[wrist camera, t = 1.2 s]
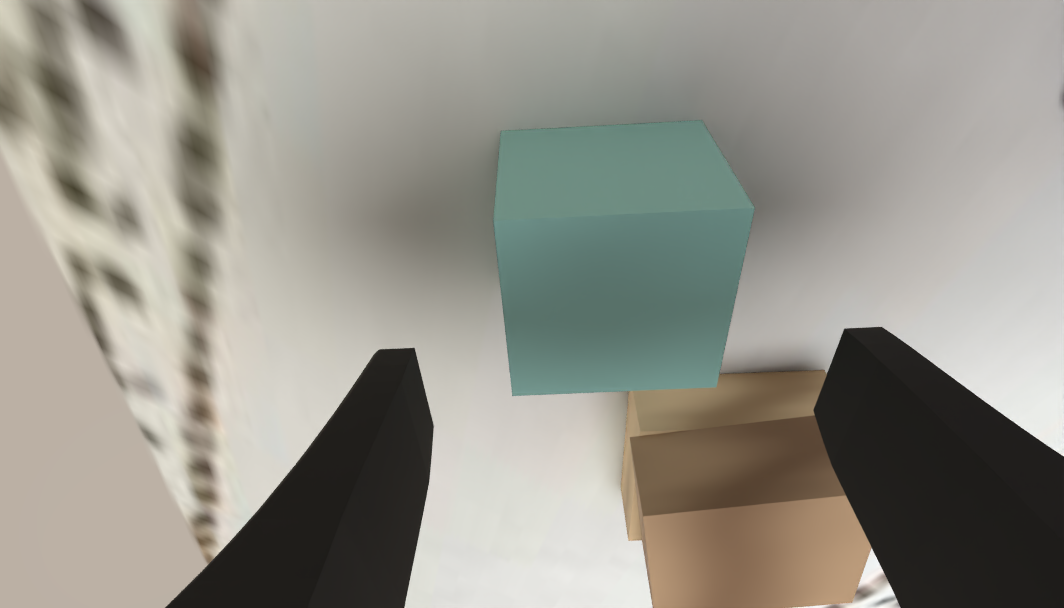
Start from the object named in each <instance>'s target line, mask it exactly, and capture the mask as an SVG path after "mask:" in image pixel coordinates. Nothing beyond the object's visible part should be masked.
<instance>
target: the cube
mask: <svg viewBox="0 0 1064 608" xmlns="http://www.w3.org/2000/svg"><path fill="white" fill-rule="evenodd" d="M754 209H755V207H754V206H753V204H752V202H751V201H750V199H749V197H748V196H747V194H746V192H745V191H744V189H743V187H742V186H741V184H740V182H739V181H738V179H737V177H736V176H735V174H734V173H733V171H732V169H731V168H730V166H729V164H728V163H727V161H726V159H725V158H724V156H723V154H722V153H721V151H720V149H719V148H718V146H717V144H716V143H715V141H714V139H713V138H712V136H711V135H710V133H709V131H708V130H707V128H706V126H705V125H704V123H703V121H702V120H696V121H678V122H659V123H640V124H622V125H603V126H584V127H566V128H547V129H528V130H509V131H501V135H500V147H499V159H498V170H497V182H496V194H495V206H494V218H493V223H494V233H495V242H496V251H497V260H498V269H499V278H500V287H501V296H502V305H503V314H504V323H505V332H506V341H507V350H508V359H509V369H510V378H511V387H512V396H522V395H546V394H570V393H594V392H617V391H641V390H665V389H689V388H713V387H717V382H718V378H719V373H720V368H721V364H722V359H723V354H724V350H725V345H726V340H727V336H728V331H729V326H730V322H731V317H732V312H733V308H734V303H735V298H736V294H737V289H738V284H739V280H740V275H741V270H742V266H743V261H744V256H745V252H746V247H747V242H748V238H749V233H750V228H751V223H752V219H753V214H754Z"/></svg>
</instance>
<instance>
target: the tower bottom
mask: <svg viewBox="0 0 1064 608" xmlns="http://www.w3.org/2000/svg"><path fill="white" fill-rule="evenodd" d="M826 376H827V374H826V372H825V371H824V370H814V371H787V372H760V373H733V374H719V378H718V382H717V387H713V388H689V389H665V390H641V391H629V396H628V408H627V420H626V432H625V444H624V456H623V468H622V479H621V492H622V499H623V506H624V513H625V520H626V527H627V534H628V541H634V540H642V535H641V527H640V519H639V510H638V502H637V494H636V486H635V478H634V469H633V461H632V453H631V445H630V437H636V436H644V435H653V434H661V433H670V432H678V431H686V430H695V429H703V428H712V427H720V426H729V425H737V424H746V423H754V422H762V421H771V420H779V419H788V418H796V417H805V416H813V415H815V414H814V411H813V410H814V407H815V404H816V402H817V399H818V396H819V394H820V391H821V389H822V386H823V383H824V381H825V378H826Z"/></svg>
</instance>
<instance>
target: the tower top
mask: <svg viewBox="0 0 1064 608" xmlns="http://www.w3.org/2000/svg"><path fill="white" fill-rule="evenodd" d="M630 445H631V453H632V461H633V469H634V478H635V486H636V494H637V502H638V510H639V519H640V527H641V535H642V543H643V550H644V556H645V562H646V568H647V574H648V580H649V587H650V593H651V599H652V605H653V608H792V607H804V606H816V605H828V604H840V603H852V601H853V599H854V596H855V593H856V590H857V587H858V584H859V582H860V579H861V576H862V573H863V570H864V567H865V564H866V562H867V559H868V556H869V553H870V550H871V545H870V543H869V541H868V539H867V537H866V535H865V533H864V531H863V529H862V527H861V525H860V523H859V521H858V519H857V517H856V515H855V513H854V511H853V509H852V507H851V505H850V503H849V501H848V499H847V497H846V495H845V492H844V490H843V488H842V486H841V484H840V482H839V480H838V478H837V476H836V474H835V472H834V469H833V467H832V465H831V462H830V459H829V457H828V454H827V451H826V448H825V445H824V443H823V440H822V436H821V433H820V430H819V427H818V424H817V421H816V418H815V415H813V416H805V417H796V418H788V419H779V420H771V421H762V422H754V423H746V424H737V425H729V426H720V427H712V428H703V429H695V430H686V431H678V432H670V433H661V434H653V435H644V436H636V437H630Z"/></svg>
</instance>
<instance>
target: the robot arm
mask: <svg viewBox="0 0 1064 608" xmlns="http://www.w3.org/2000/svg"><path fill="white" fill-rule="evenodd" d="M813 411H814V414H815V418H816V421H817V424H818V427H819V430H820V433H821V436H822V440H823V443H824V445H825V448H826V451H827V454H828V457H829V459H830V462H831V465H832V467H833V469H834V472H835V474H836V476H837V478H838V480H839V482H840V484H841V486H842V488H843V490H844V492H845V495H846V497H847V499H848V501H849V503H850V505H851V507H852V509H853V511H854V513H855V515H856V517H857V519H858V521H859V523H860V525H861V527H862V529H863V531H864V533H865V535H866V537H867V539H868V541H869V543H870V545H871V547H872V549H873V551H874V553H875V555H876V557H877V559H878V561H879V563H880V565H881V567H882V569H883V571H884V573H885V575H886V577H887V579H888V581H889V583H890V586H891V588H892V590H893V592H894V594H895V596H896V598H897V600H898V603H899V605H900V607H901V608H1064V456H1062V455H1061V454H1059V453H1057V452H1056V451H1054V450H1053V449H1051V448H1050V447H1048V446H1047V445H1046V444H1044V443H1043V442H1041V441H1040V440H1038V439H1037V438H1035V437H1034V436H1032V435H1031V434H1030V433H1028V432H1027V431H1025V430H1024V429H1022V428H1021V427H1020V426H1018V425H1017V424H1015V423H1014V422H1012V421H1011V420H1010V419H1008V418H1007V417H1005V416H1004V415H1003V414H1001V413H1000V412H998V411H997V410H996V409H994V408H993V407H991V406H990V405H989V404H987V403H986V402H985V401H983V400H982V399H980V398H979V397H978V396H976V395H975V394H974V393H972V392H971V391H969V390H968V389H967V388H965V387H964V386H963V385H961V384H960V383H959V382H957V381H956V380H955V379H953V378H952V377H951V376H949V375H948V374H946V373H945V372H944V371H942V370H941V369H940V368H938V367H937V366H936V365H934V364H933V363H932V362H930V361H929V360H928V359H926V358H925V357H923V356H922V355H921V354H919V353H918V352H917V351H915V350H914V349H913V348H911V347H910V346H908V345H907V344H906V343H904V342H903V341H901V340H900V339H899V338H897V337H896V336H894V335H893V334H891V333H890V332H888V331H887V330H885V329H884V328H882V327H870V328H848V329H844V331H843V334H842V336H841V339H840V342H839V344H838V347H837V349H836V352H835V355H834V357H833V360H832V363H831V365H830V368H829V370H828V373H827V376H826V378H825V381H824V383H823V386H822V389H821V391H820V394H819V396H818V399H817V402H816V404H815V407H814V410H813ZM433 428H434V426H433V421H432V417H431V413H430V409H429V405H428V401H427V397H426V393H425V389H424V385H423V381H422V377H421V373H420V369H419V364H418V360H417V356H416V352H415V348H404V349H381V350H378V351H377V352H376V353H375V354H374V355H373V357H372V358H371V360H370V361H369V363H368V364H367V366H366V367H365V369H364V370H363V372H362V373H361V375H360V376H359V378H358V379H357V381H356V382H355V384H354V385H353V387H352V388H351V390H350V391H349V393H348V394H347V395H346V397H345V398H344V400H343V401H342V403H341V404H340V405H339V407H338V408H337V410H336V411H335V413H334V414H333V415H332V417H331V418H330V419H329V421H328V422H327V424H326V425H325V426H324V428H323V429H322V430H321V432H320V433H319V434H318V436H317V437H316V438H315V440H314V441H313V442H312V444H311V445H310V446H309V448H308V449H307V450H306V452H305V453H304V454H303V456H302V457H301V458H300V460H299V461H298V462H297V463H296V465H295V466H294V467H293V468H292V470H291V471H290V472H289V473H288V474H287V476H286V477H285V478H284V479H283V481H282V482H281V483H280V484H279V485H278V487H277V488H276V489H275V490H274V492H273V493H272V494H271V495H270V496H269V498H268V499H267V500H266V501H265V503H264V504H263V505H262V506H261V507H260V508H259V510H258V511H257V512H256V513H255V514H254V515H253V516H252V518H251V519H250V520H249V521H248V522H247V523H246V524H245V526H244V527H243V528H242V529H241V530H240V531H239V532H238V533H237V534H236V536H235V537H234V538H233V539H232V540H231V541H230V542H229V543H228V544H227V545H226V546H225V547H224V549H223V550H222V551H221V552H220V553H219V554H218V555H217V556H216V557H215V558H214V559H213V560H212V561H211V562H210V563H209V565H208V566H207V567H206V568H205V569H204V570H203V571H202V572H201V573H200V574H199V575H198V576H197V577H196V578H195V579H194V580H193V581H192V582H191V583H190V584H189V585H188V586H187V587H186V588H185V589H184V590H183V591H182V592H181V593H180V594H179V595H178V596H177V597H176V598H175V599H174V600H172V601H171V603H170V604H169V605H168V606H166V607H165V608H404V606H405V601H406V596H407V591H408V586H409V581H410V576H411V571H412V566H413V561H414V556H415V551H416V546H417V541H418V536H419V531H420V526H421V521H422V516H423V511H424V506H425V501H426V496H427V490H428V485H429V478H430V467H431V455H432V442H433Z"/></svg>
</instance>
